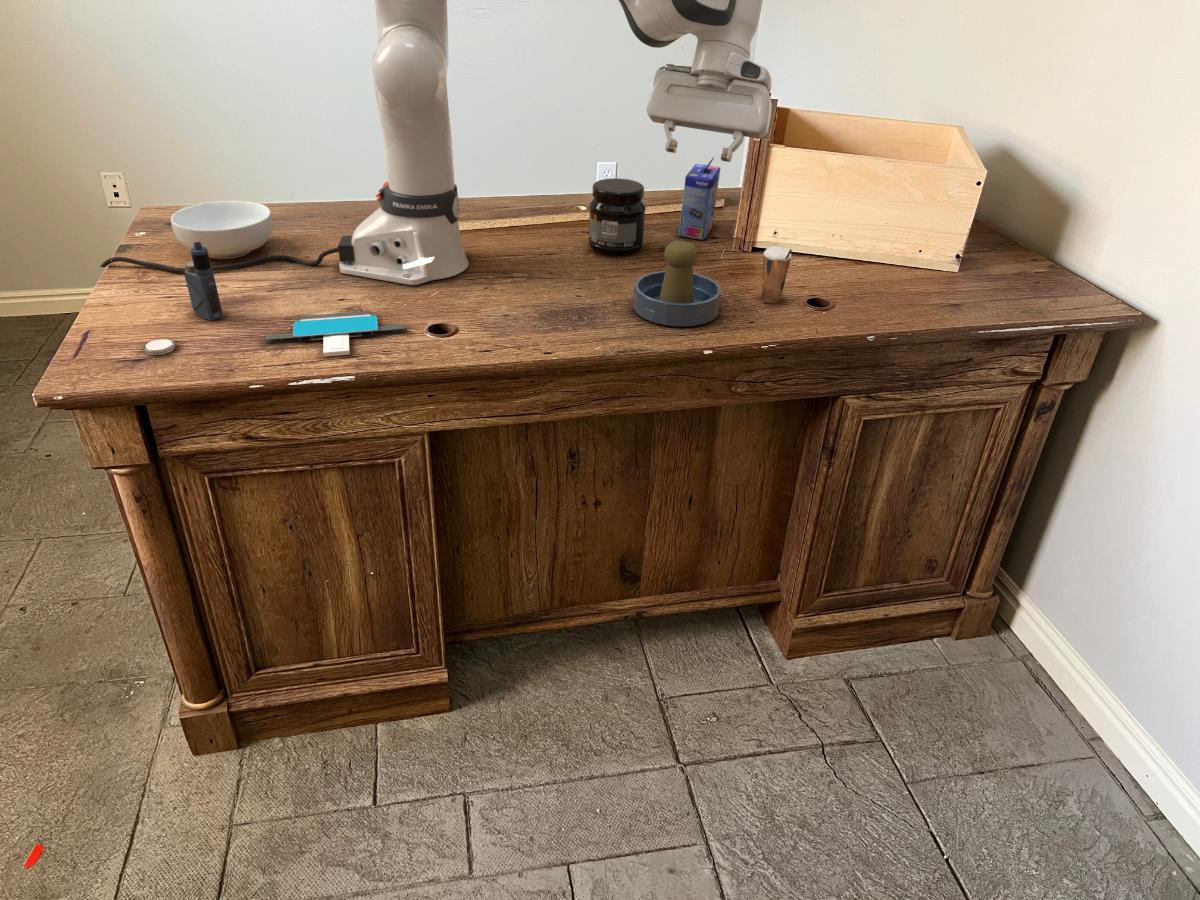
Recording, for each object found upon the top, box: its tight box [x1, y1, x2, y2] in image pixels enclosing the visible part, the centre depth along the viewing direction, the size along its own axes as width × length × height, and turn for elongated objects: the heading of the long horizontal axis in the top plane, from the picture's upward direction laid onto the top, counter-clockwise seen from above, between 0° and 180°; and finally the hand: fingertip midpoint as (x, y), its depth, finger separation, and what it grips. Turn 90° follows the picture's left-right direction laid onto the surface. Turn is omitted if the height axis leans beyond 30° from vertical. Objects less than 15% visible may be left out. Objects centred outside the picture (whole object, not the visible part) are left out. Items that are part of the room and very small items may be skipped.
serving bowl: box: [632, 270, 722, 328], centre depth 140 cm, size 14×14×4 cm
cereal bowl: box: [170, 200, 273, 260], centre depth 154 cm, size 17×17×7 cm
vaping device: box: [184, 242, 224, 322], centre depth 130 cm, size 3×5×12 cm, turn 58°
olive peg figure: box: [659, 240, 698, 304], centre depth 138 cm, size 6×6×11 cm
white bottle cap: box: [143, 338, 176, 356], centre depth 124 cm, size 4×4×1 cm
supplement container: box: [588, 177, 647, 258], centre depth 161 cm, size 10×10×12 cm
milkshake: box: [761, 245, 793, 304], centre depth 143 cm, size 5×5×10 cm
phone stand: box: [265, 310, 405, 358], centre depth 128 cm, size 20×12×2 cm, turn 105°
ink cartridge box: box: [678, 157, 721, 241], centre depth 169 cm, size 10×6×14 cm, turn 163°
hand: (697, 156), depth 141 cm, fingers open, 8 cm apart
